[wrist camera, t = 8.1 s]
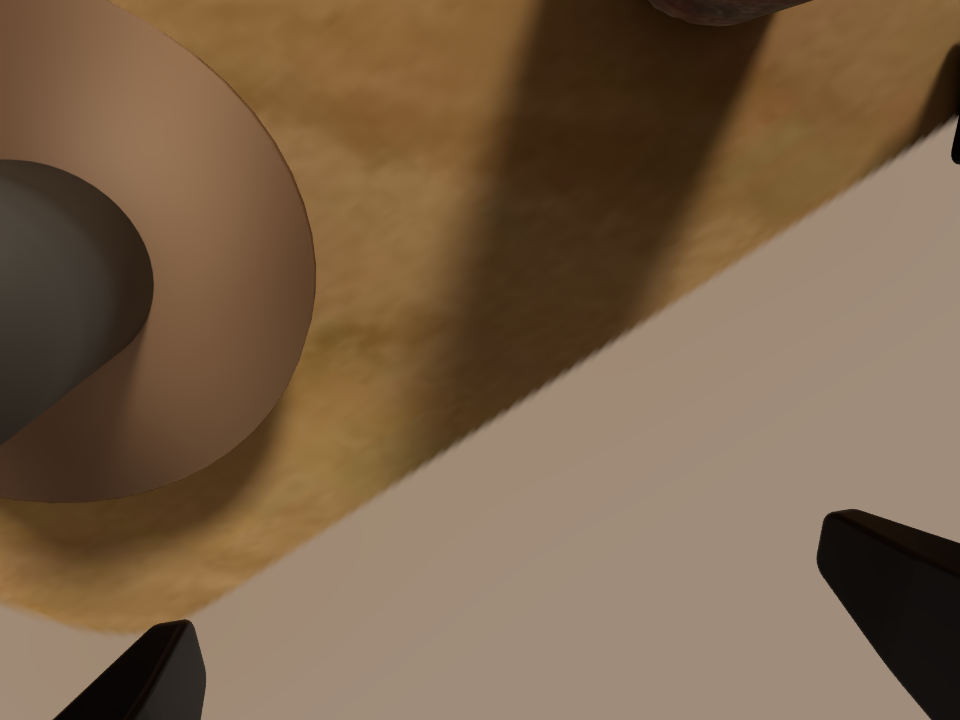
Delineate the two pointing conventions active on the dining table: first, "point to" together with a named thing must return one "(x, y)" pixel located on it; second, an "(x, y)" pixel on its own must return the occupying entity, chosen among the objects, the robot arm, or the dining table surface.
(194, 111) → the lid
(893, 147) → the dining table surface
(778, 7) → the candle
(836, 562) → the robot arm
